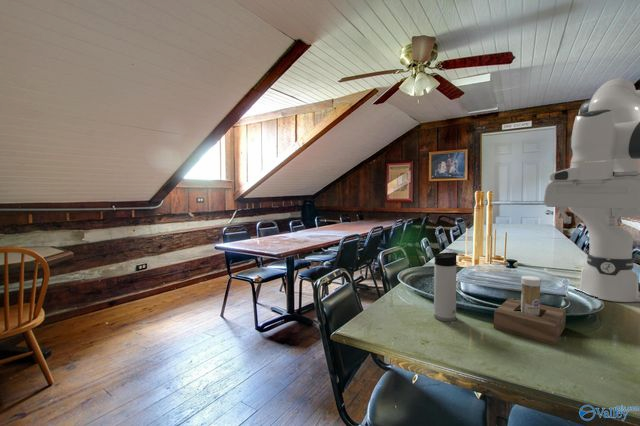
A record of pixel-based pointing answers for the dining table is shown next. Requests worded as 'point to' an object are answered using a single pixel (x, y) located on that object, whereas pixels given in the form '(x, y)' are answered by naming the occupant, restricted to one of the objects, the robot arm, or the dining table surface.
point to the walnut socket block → (530, 321)
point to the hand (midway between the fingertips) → (589, 224)
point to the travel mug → (445, 286)
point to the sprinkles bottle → (530, 295)
